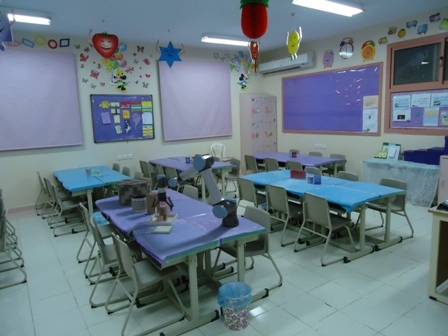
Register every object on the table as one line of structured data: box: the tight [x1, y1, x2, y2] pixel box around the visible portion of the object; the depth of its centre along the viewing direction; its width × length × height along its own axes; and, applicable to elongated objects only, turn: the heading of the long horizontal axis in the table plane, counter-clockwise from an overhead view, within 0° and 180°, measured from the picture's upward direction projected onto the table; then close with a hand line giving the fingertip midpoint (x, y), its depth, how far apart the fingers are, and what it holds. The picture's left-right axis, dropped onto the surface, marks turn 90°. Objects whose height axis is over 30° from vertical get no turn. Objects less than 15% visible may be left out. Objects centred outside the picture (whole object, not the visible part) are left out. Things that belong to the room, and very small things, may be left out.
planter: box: [131, 195, 147, 214], centre depth 329 cm, size 16×16×14 cm
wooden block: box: [146, 191, 161, 215], centre depth 318 cm, size 10×10×20 cm
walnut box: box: [158, 205, 169, 220], centre depth 296 cm, size 6×6×12 cm
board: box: [150, 225, 176, 235], centre depth 271 cm, size 16×16×1 cm
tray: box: [145, 213, 179, 226], centre depth 293 cm, size 22×24×4 cm
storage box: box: [116, 177, 153, 207], centre depth 365 cm, size 35×35×23 cm
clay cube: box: [157, 216, 164, 222], centre depth 286 cm, size 5×5×6 cm
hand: (163, 214), depth 296 cm, fingers open, 13 cm apart
